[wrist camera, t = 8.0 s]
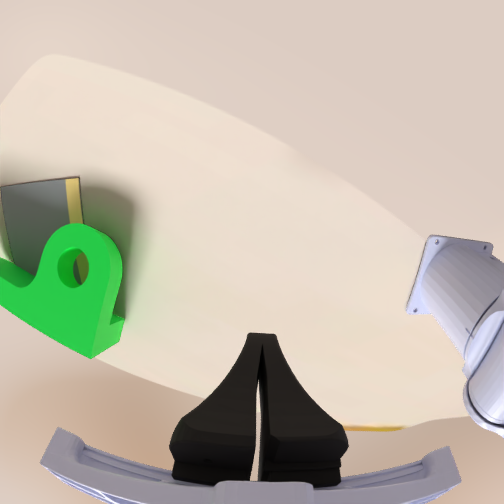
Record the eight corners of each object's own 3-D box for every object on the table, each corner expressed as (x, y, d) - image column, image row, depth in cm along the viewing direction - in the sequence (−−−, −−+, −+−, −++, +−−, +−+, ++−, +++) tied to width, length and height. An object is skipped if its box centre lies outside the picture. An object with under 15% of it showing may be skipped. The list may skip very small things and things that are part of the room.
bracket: (146, 249, 26) (123, 238, 19) (119, 341, 25) (91, 359, 17) (15, 199, 24) (-19, 182, 17) (-5, 273, 23) (-43, 270, 16)
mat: (79, 177, 20) (78, 178, 19) (102, 315, 25) (101, 315, 25) (1, 187, 20) (0, 187, 20) (25, 297, 25) (24, 297, 25)
